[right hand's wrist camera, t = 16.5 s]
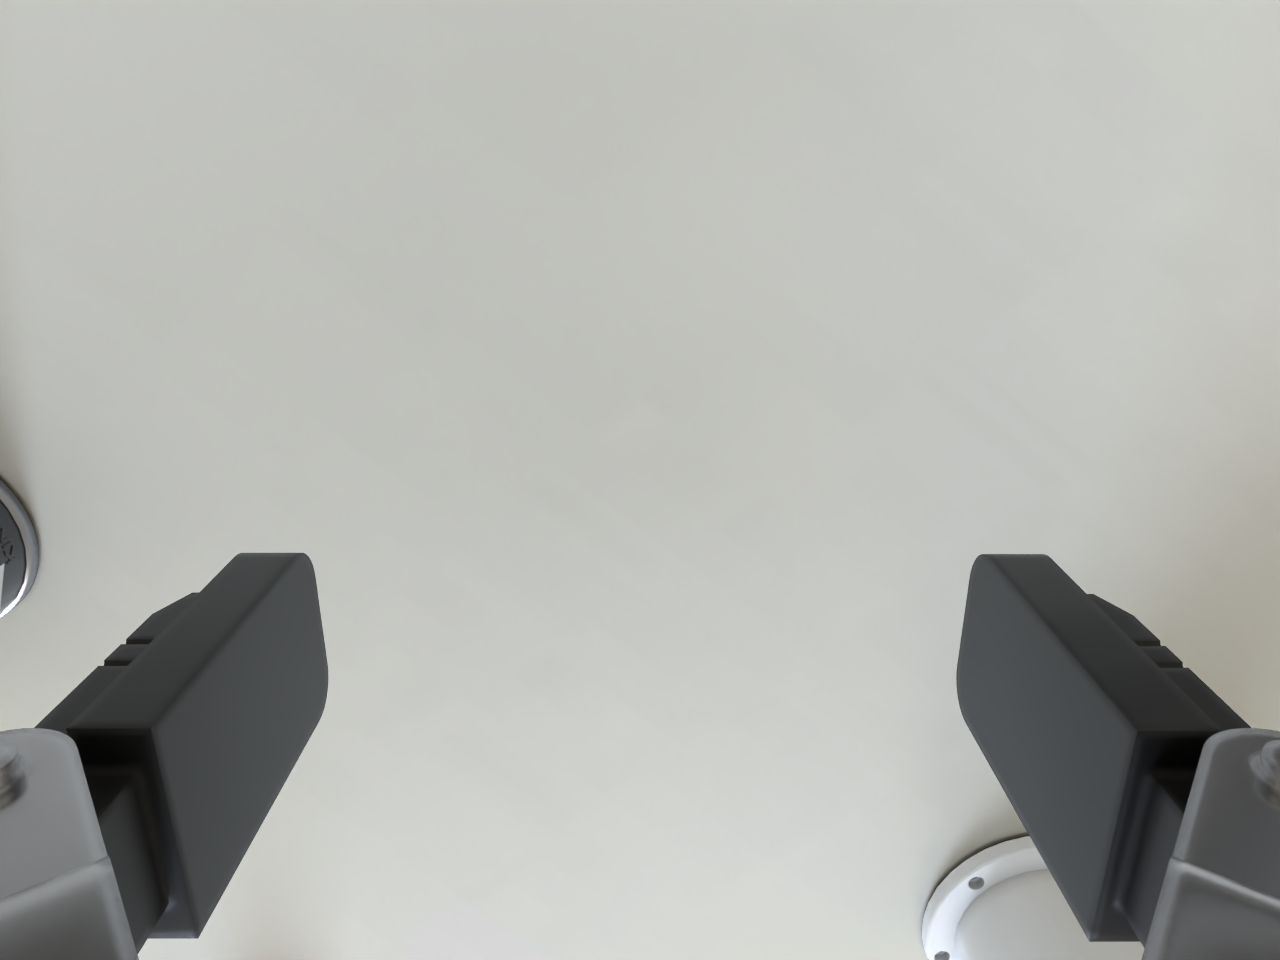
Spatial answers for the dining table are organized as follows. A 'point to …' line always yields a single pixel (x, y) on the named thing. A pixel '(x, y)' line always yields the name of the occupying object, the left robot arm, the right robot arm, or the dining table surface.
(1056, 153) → the dining table surface
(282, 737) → the right robot arm
